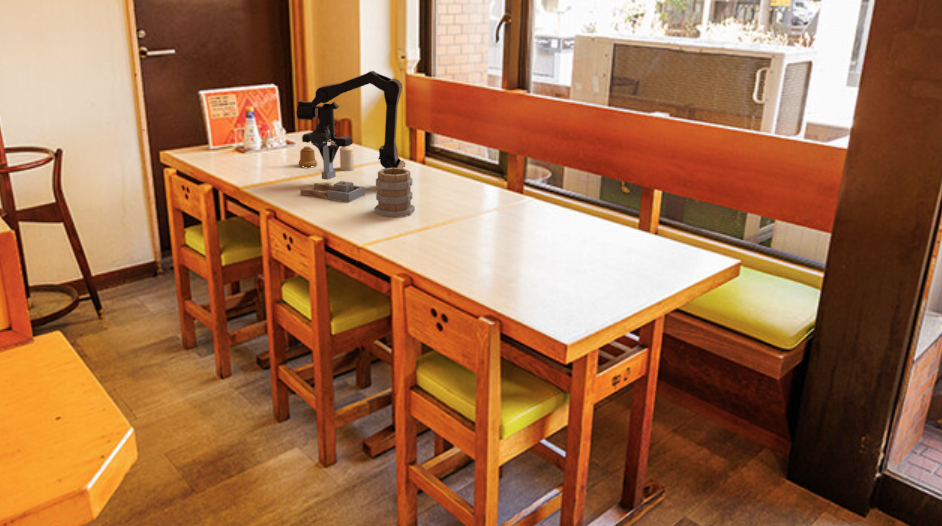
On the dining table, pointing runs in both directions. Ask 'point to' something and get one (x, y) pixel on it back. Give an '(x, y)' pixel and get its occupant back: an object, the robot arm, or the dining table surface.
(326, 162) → the grey notched beam
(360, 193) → the box
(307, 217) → the dining table surface
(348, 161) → the candle
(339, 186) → the dice cube
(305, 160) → the ornamental finial
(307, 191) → the slot rails
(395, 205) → the tankard
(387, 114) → the robot arm
